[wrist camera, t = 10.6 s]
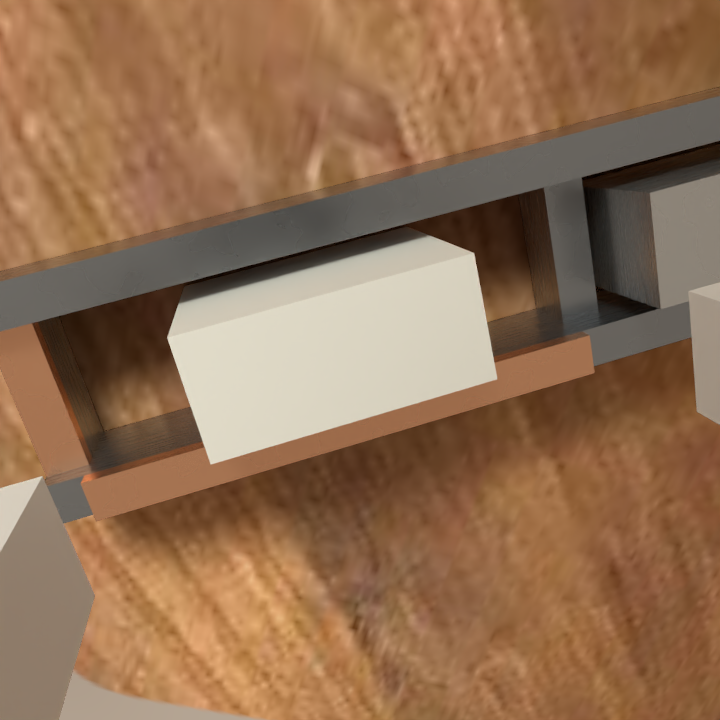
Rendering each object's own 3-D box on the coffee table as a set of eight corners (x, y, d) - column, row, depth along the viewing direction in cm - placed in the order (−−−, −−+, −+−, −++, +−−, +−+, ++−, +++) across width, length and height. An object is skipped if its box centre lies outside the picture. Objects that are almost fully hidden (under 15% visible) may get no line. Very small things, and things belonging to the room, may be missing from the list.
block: (184, 286, 27) (167, 337, 19) (406, 226, 27) (473, 252, 20) (215, 380, 28) (210, 464, 20) (426, 320, 29) (497, 379, 21)
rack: (-4, 272, 25) (-72, 306, 19) (847, 53, 29) (999, 29, 23) (79, 475, 28) (41, 557, 22) (848, 252, 31) (984, 273, 26)
